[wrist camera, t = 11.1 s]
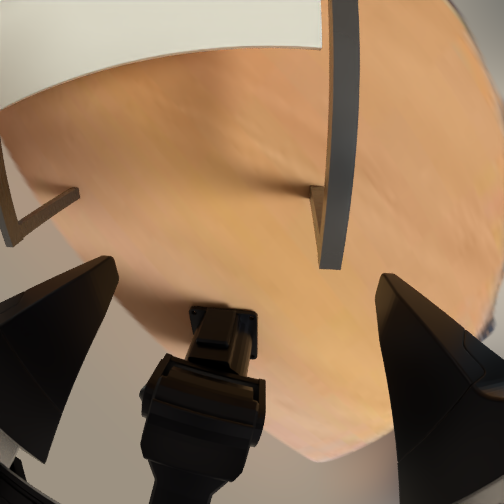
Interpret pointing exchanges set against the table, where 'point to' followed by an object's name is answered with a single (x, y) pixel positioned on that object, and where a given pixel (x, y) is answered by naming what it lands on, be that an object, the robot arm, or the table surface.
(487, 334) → the table surface
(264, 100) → the table surface
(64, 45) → the sliding cover
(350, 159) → the cover frame
